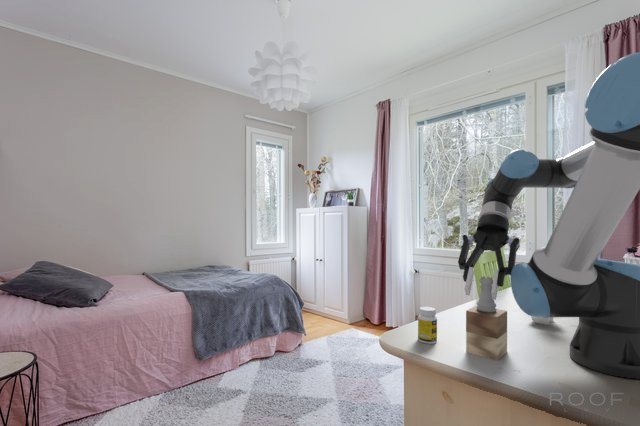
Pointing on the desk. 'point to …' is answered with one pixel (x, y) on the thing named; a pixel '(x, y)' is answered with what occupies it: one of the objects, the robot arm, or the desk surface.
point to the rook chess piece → (486, 296)
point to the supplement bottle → (427, 325)
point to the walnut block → (486, 322)
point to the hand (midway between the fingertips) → (480, 294)
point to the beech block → (486, 345)
